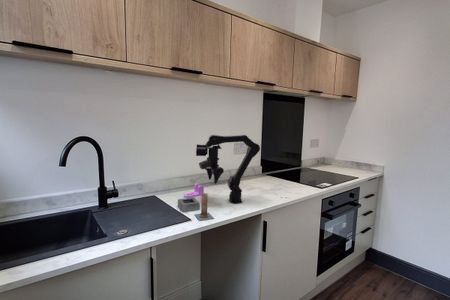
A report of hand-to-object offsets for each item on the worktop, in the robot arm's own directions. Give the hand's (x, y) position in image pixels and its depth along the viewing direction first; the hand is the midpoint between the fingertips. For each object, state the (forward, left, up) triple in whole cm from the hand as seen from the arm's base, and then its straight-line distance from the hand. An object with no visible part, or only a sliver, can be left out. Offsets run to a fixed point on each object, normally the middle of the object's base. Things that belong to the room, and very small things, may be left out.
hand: (212, 181), depth 147 cm
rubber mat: (+12, +19, -13) cm, 26 cm away
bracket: (+7, -16, -13) cm, 22 cm away
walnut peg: (+12, +19, -13) cm, 26 cm away
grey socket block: (+16, +4, -13) cm, 21 cm away
